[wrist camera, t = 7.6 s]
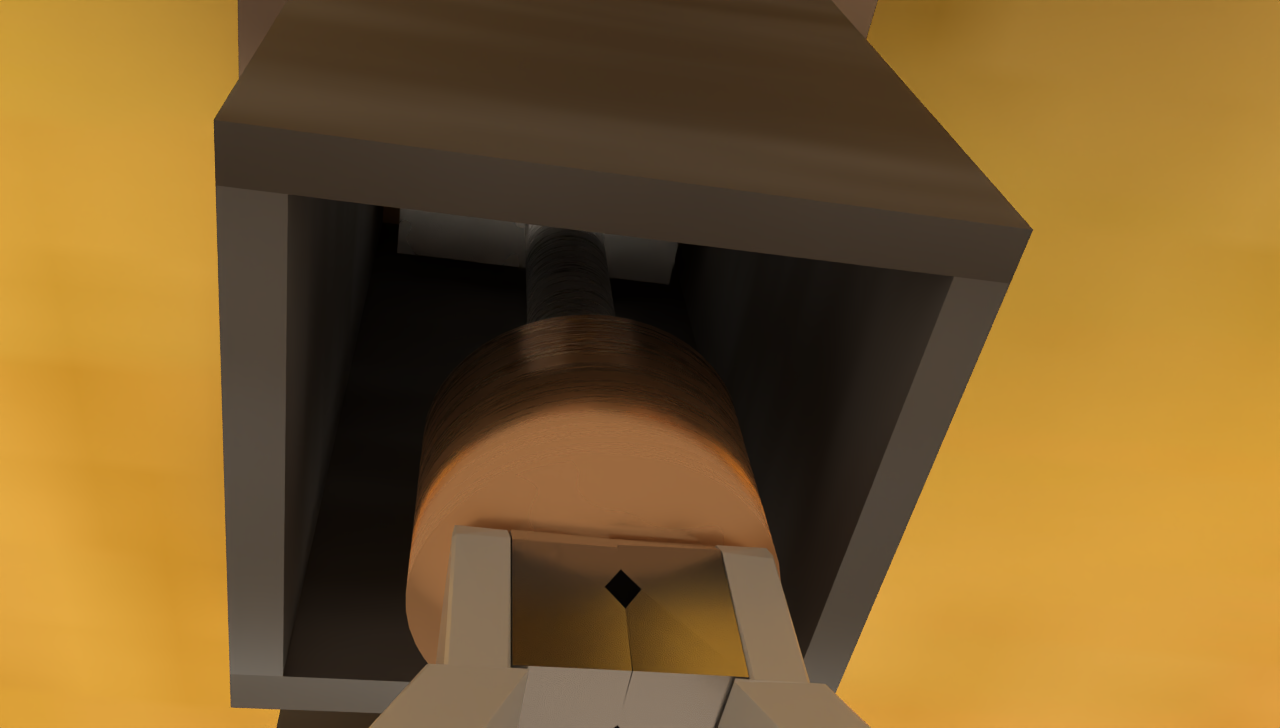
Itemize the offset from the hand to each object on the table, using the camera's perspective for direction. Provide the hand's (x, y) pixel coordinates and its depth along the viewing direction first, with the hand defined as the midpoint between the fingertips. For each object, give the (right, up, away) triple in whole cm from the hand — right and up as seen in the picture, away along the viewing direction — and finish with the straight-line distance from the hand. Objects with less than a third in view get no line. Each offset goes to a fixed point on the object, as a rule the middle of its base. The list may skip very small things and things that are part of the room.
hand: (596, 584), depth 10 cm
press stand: (-3, +3, +16) cm, 16 cm away
